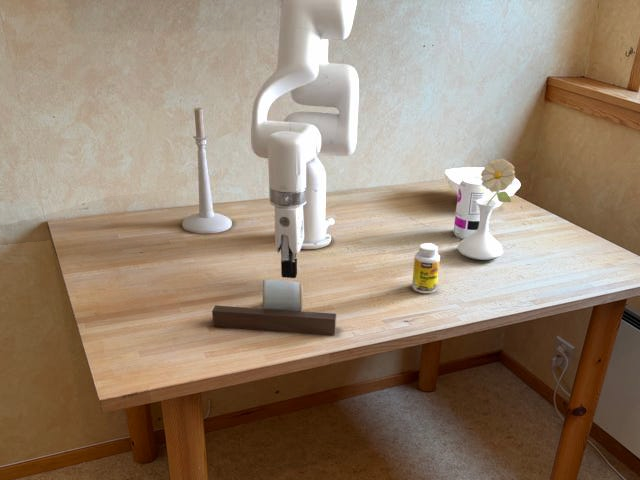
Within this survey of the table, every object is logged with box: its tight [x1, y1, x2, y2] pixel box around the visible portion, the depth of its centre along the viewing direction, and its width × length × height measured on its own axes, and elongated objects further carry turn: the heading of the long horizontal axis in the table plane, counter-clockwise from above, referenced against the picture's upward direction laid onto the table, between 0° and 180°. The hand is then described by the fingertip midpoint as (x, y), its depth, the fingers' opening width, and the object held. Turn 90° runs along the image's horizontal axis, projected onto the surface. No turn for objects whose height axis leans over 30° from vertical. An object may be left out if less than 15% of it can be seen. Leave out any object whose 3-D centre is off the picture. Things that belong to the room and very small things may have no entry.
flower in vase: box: [457, 157, 516, 261], centre depth 166 cm, size 13×11×25 cm
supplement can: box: [453, 177, 491, 240], centre depth 181 cm, size 8×8×15 cm
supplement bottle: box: [411, 242, 441, 294], centre depth 152 cm, size 6×6×10 cm
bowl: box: [444, 166, 521, 209], centre depth 205 cm, size 21×21×9 cm
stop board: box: [211, 304, 337, 336], centre depth 135 cm, size 2×24×4 cm, turn 87°
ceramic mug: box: [262, 278, 304, 311], centre depth 140 cm, size 11×8×8 cm
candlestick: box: [181, 106, 233, 235], centre depth 175 cm, size 13×13×30 cm
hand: (289, 276), depth 151 cm, fingers closed
